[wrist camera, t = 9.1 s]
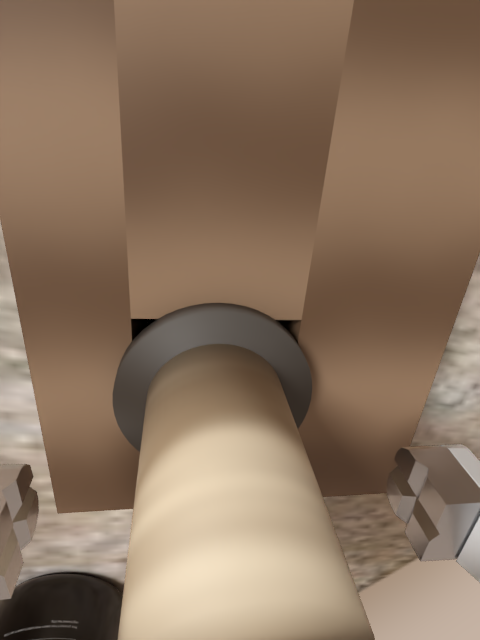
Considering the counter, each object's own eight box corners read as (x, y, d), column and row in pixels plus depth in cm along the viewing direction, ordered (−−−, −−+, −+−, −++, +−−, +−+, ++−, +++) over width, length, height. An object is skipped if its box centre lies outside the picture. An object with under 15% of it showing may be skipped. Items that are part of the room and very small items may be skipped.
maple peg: (124, 260, 13) (1, 577, 4) (291, 264, 14) (492, 537, 5) (132, 398, 15) (67, 779, 7) (273, 395, 16) (383, 729, 7)
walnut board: (8, -91, 9) (-81, -197, 6) (479, -19, 11) (596, -72, 8) (81, 437, 16) (57, 513, 13) (357, 428, 18) (392, 492, 15)
